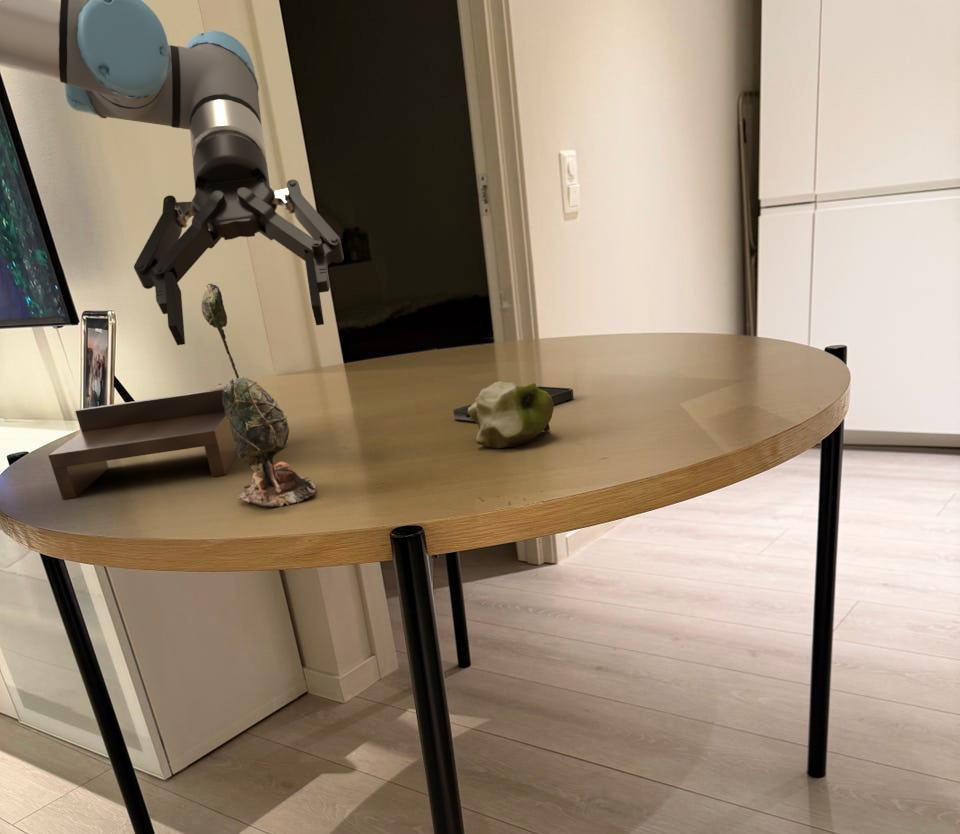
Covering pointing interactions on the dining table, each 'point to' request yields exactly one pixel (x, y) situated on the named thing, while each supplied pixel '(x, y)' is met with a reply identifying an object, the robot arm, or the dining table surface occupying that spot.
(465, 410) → the phone
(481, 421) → the fruit
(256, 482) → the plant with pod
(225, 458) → the bench
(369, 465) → the dining table surface
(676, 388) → the dining table surface
